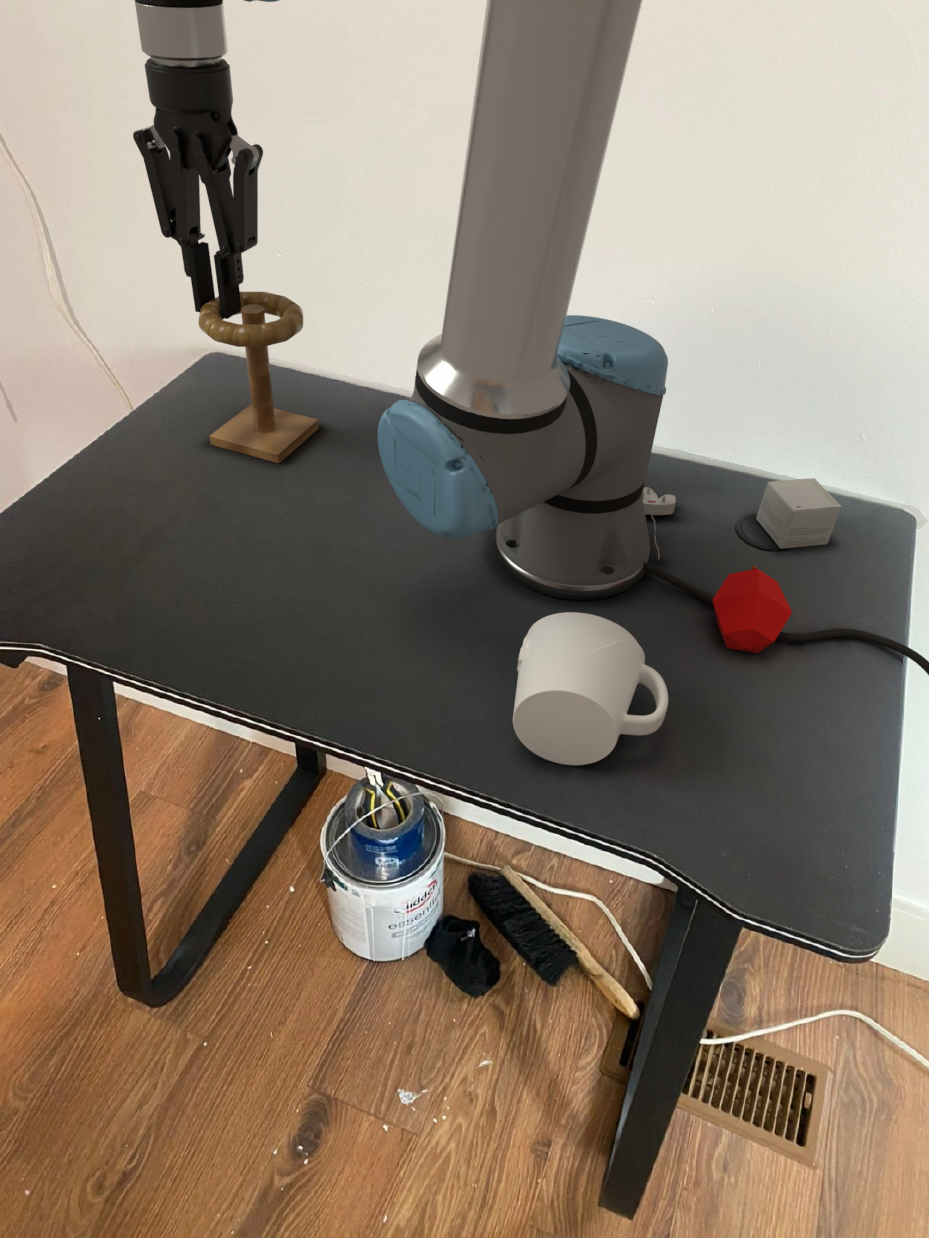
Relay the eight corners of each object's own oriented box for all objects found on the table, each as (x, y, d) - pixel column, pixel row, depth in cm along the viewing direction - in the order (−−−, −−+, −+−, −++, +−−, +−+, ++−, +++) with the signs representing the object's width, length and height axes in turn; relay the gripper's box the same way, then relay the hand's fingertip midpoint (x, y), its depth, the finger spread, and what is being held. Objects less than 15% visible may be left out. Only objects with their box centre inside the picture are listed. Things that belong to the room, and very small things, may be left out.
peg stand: (319, 428, 109) (311, 302, 99) (279, 463, 102) (266, 332, 92) (253, 411, 111) (239, 286, 101) (210, 445, 105) (190, 315, 95)
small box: (829, 545, 95) (844, 505, 92) (779, 550, 94) (792, 510, 91) (801, 514, 100) (815, 475, 96) (753, 519, 98) (765, 480, 95)
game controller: (660, 494, 101) (665, 474, 100) (708, 556, 93) (714, 535, 91) (613, 499, 100) (617, 479, 98) (657, 563, 92) (662, 541, 90)
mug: (498, 750, 72) (506, 677, 67) (522, 671, 79) (531, 599, 74) (651, 785, 70) (672, 713, 65) (662, 701, 77) (681, 629, 72)
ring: (321, 320, 101) (321, 301, 99) (270, 359, 93) (268, 338, 92) (236, 301, 103) (234, 281, 102) (179, 336, 96) (176, 316, 94)
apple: (793, 631, 76) (797, 551, 80) (708, 625, 78) (716, 548, 82) (787, 669, 82) (791, 593, 86) (709, 663, 84) (716, 589, 88)
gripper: (283, 62, 84) (300, 313, 99) (141, 41, 88) (178, 285, 103) (237, 76, 79) (262, 338, 94) (88, 53, 83) (136, 308, 98)
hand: (218, 310), depth 99 cm, fingers closed on ring, 2 cm apart
